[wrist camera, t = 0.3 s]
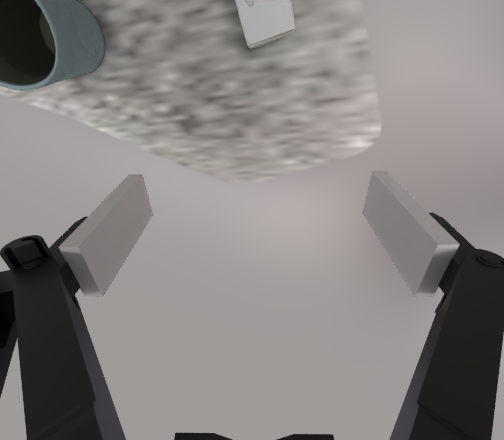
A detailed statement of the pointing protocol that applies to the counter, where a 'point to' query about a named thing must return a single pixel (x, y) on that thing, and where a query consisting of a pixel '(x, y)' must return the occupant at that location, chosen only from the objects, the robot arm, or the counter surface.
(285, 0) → the ink box
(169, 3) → the counter surface
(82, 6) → the teal cup
